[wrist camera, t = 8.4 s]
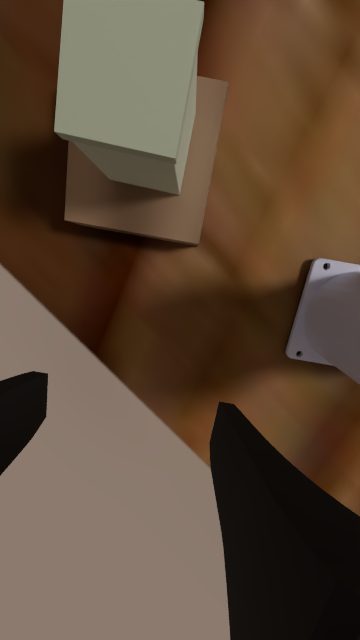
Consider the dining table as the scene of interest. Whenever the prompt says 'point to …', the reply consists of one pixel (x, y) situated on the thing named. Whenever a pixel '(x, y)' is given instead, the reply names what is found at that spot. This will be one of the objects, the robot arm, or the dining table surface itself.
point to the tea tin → (130, 86)
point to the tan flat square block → (144, 203)
